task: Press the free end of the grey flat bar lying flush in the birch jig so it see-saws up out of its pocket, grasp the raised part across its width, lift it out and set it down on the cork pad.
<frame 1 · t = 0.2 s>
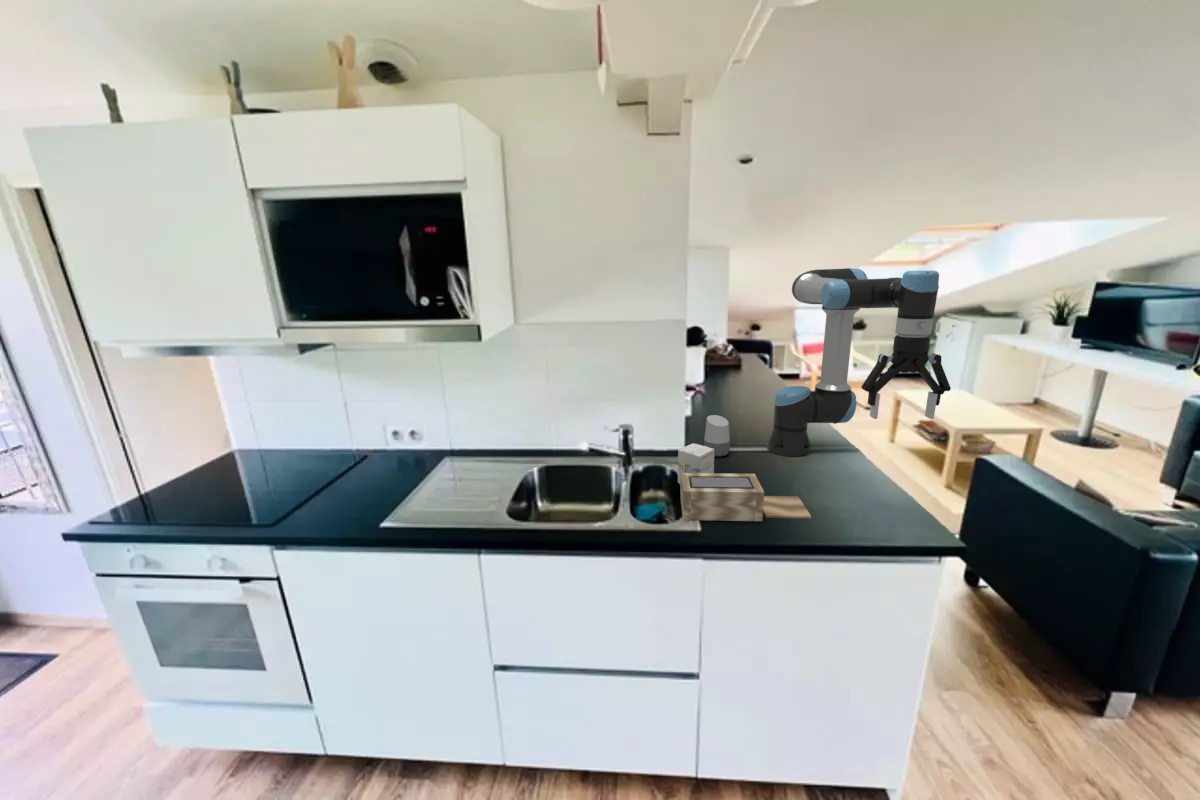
hand: (901, 417, 125), 28 cm above the table, fingers open, 13 cm apart
jig: (719, 509, 138), on the table
smart speaker: (716, 454, 179), on the table
ink box: (695, 483, 156), on the table
pad: (782, 507, 138), on the table
grey flat bar: (720, 490, 136), point 6 cm above the table, touching jig
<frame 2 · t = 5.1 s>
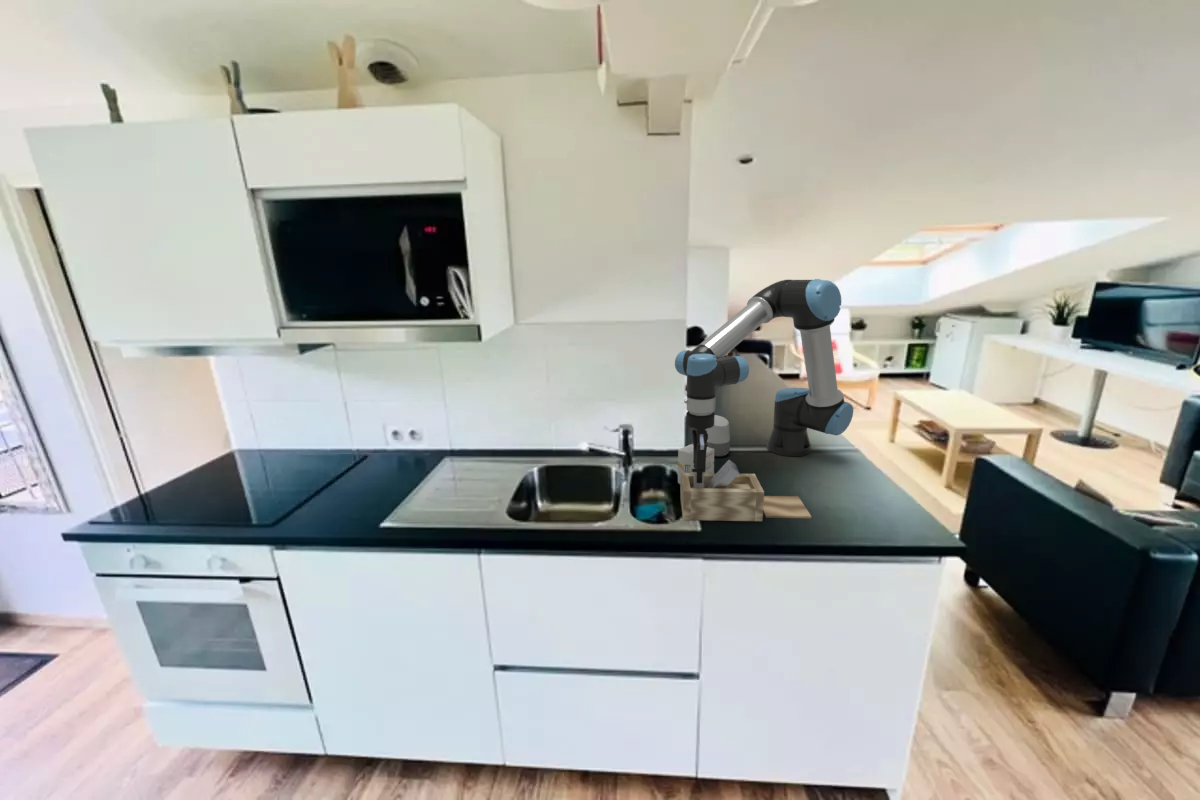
hand: (698, 491, 137), 6 cm above the table, fingers closed
grey flat bar: (718, 489, 136), point 6 cm above the table, tilted 52°, touching jig
everything else where it was.
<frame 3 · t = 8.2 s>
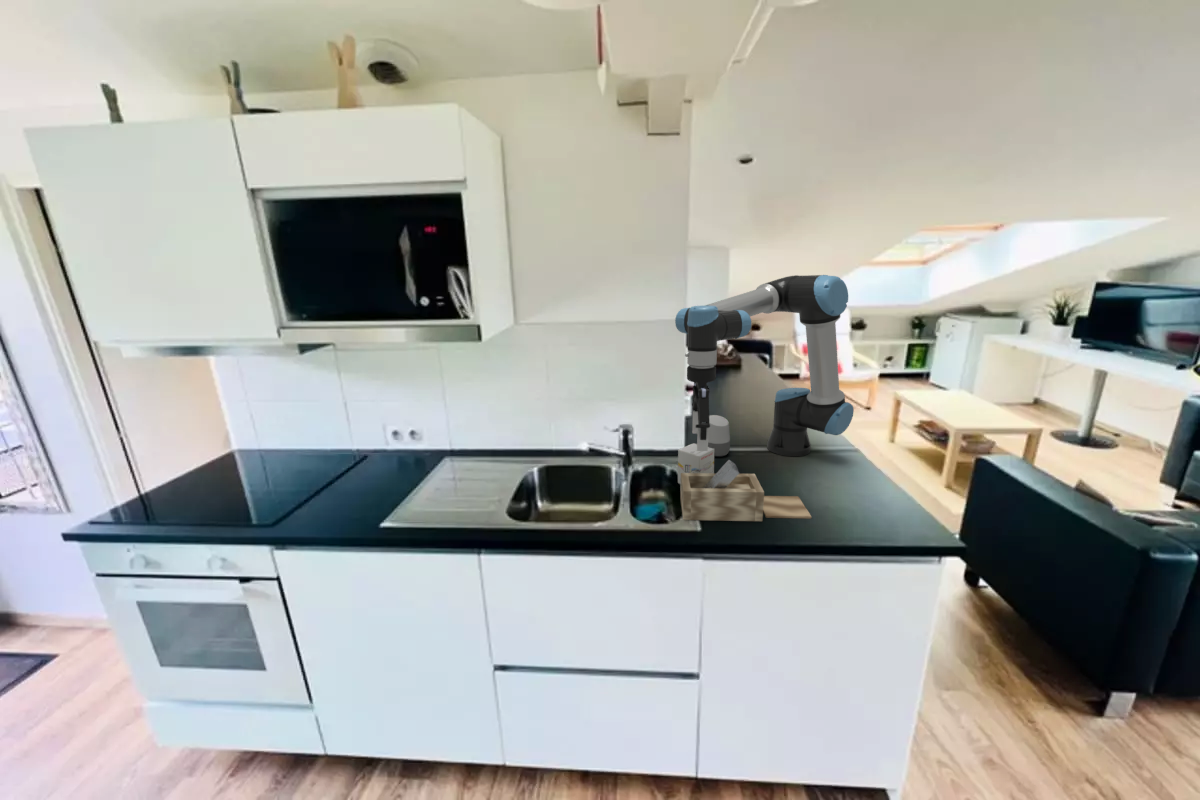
hand: (699, 441, 133), 21 cm above the table, fingers open, 13 cm apart
nothing on the table moved.
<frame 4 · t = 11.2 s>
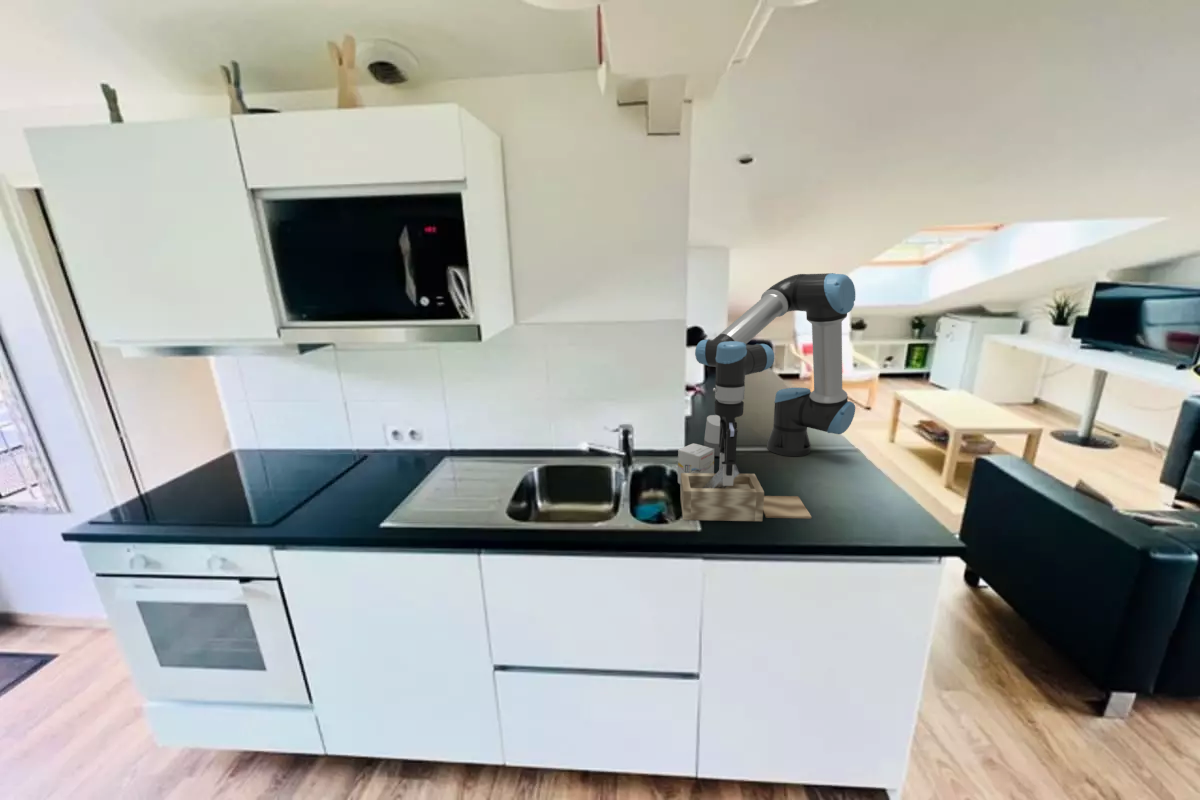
hand: (725, 479, 135), 9 cm above the table, fingers closed on grey flat bar, 6 cm apart
grey flat bar: (718, 489, 136), point 6 cm above the table, tilted 52°, touching gripper, jig
everything else where it was.
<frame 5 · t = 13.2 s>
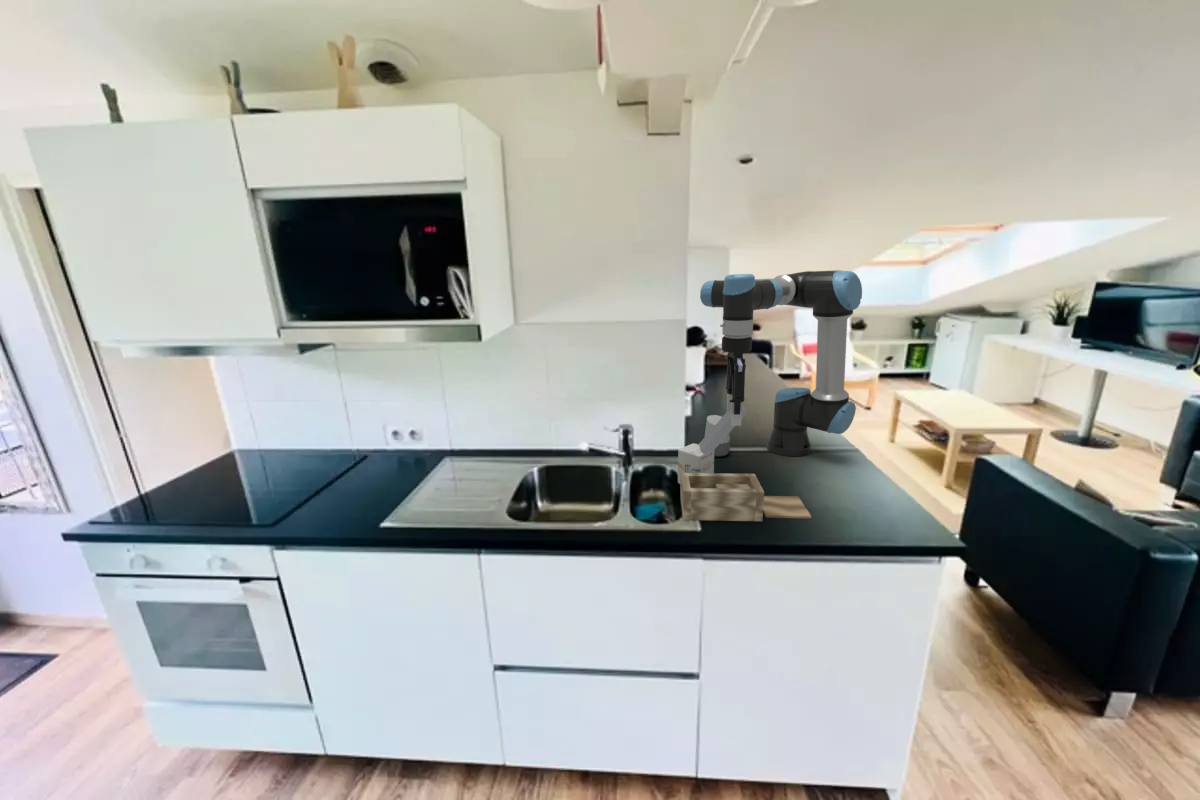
hand: (733, 421, 131), 27 cm above the table, fingers closed on grey flat bar, 6 cm apart
grey flat bar: (725, 431, 132), point 24 cm above the table, tilted 52°, touching gripper
everything else where it was.
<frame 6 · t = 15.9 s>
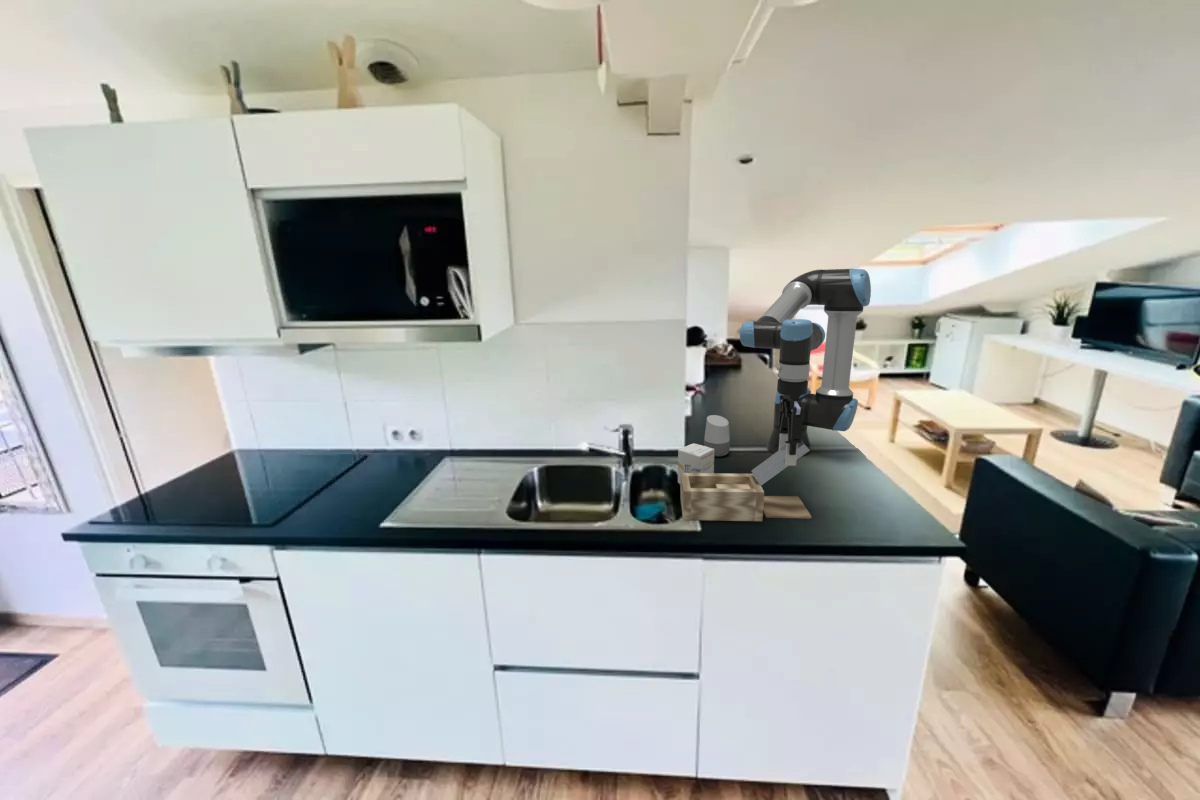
hand: (786, 460, 134), 15 cm above the table, fingers closed on grey flat bar, 6 cm apart
grey flat bar: (782, 463, 135), point 13 cm above the table, tilted 41°, touching gripper, jig
everything else where it was.
when the fingers open (7 cm above the table, at t = 17.5 s): grey flat bar drops 6 cm, resting on pad.
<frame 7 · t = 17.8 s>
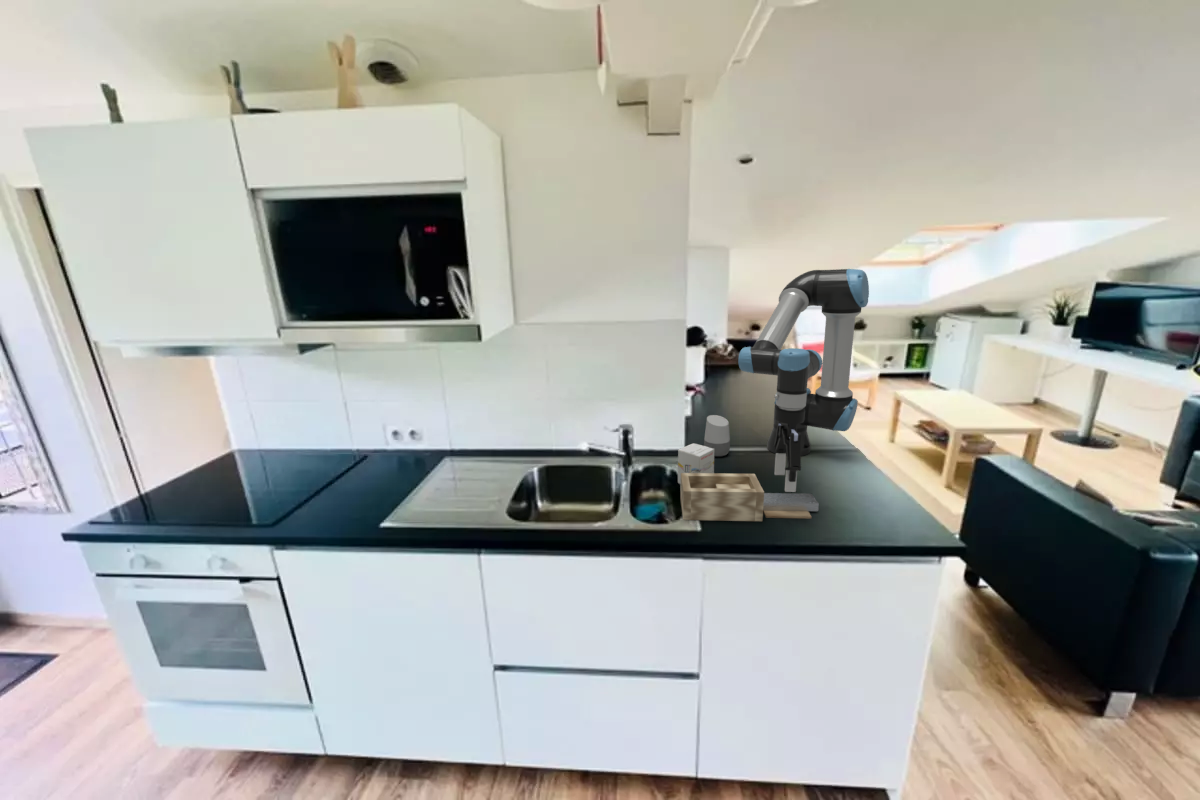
hand: (784, 482, 136), 8 cm above the table, fingers open, 10 cm apart
grey flat bar: (785, 505, 138), point 1 cm above the table, touching pad
everything else where it was.
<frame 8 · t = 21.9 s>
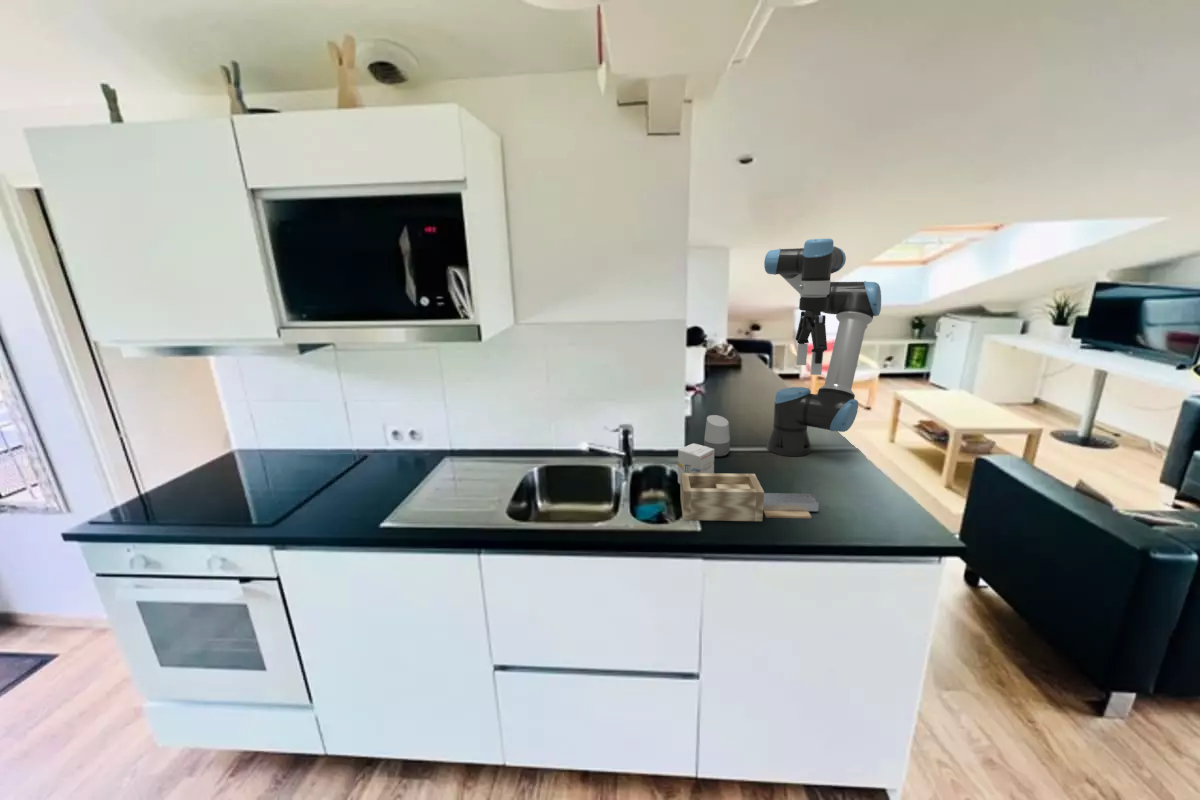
hand: (808, 369, 143), 37 cm above the table, fingers open, 13 cm apart
nothing on the table moved.
at the end: grey flat bar inside the target area on the pad (0.7 cm from its centre), point 0.6 cm above the pad's base; the gripper is holding nothing; grey flat bar touching pad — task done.
